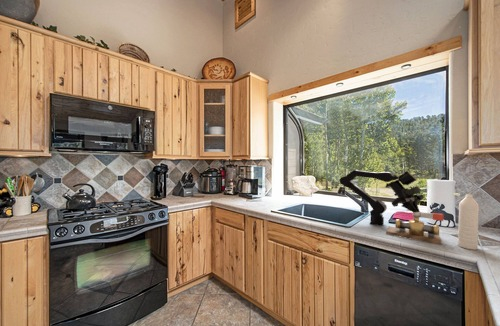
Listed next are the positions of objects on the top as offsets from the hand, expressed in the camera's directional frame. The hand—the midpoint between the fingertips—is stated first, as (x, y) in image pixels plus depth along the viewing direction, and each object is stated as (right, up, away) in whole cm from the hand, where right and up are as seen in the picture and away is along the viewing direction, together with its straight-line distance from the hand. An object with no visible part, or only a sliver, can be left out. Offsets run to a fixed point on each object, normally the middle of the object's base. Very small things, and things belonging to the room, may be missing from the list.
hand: (418, 213), depth 115 cm
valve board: (-5, -12, -1) cm, 12 cm away
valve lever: (0, -1, -5) cm, 5 cm away
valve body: (-3, -10, -2) cm, 11 cm away
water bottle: (+10, -12, -15) cm, 21 cm away
